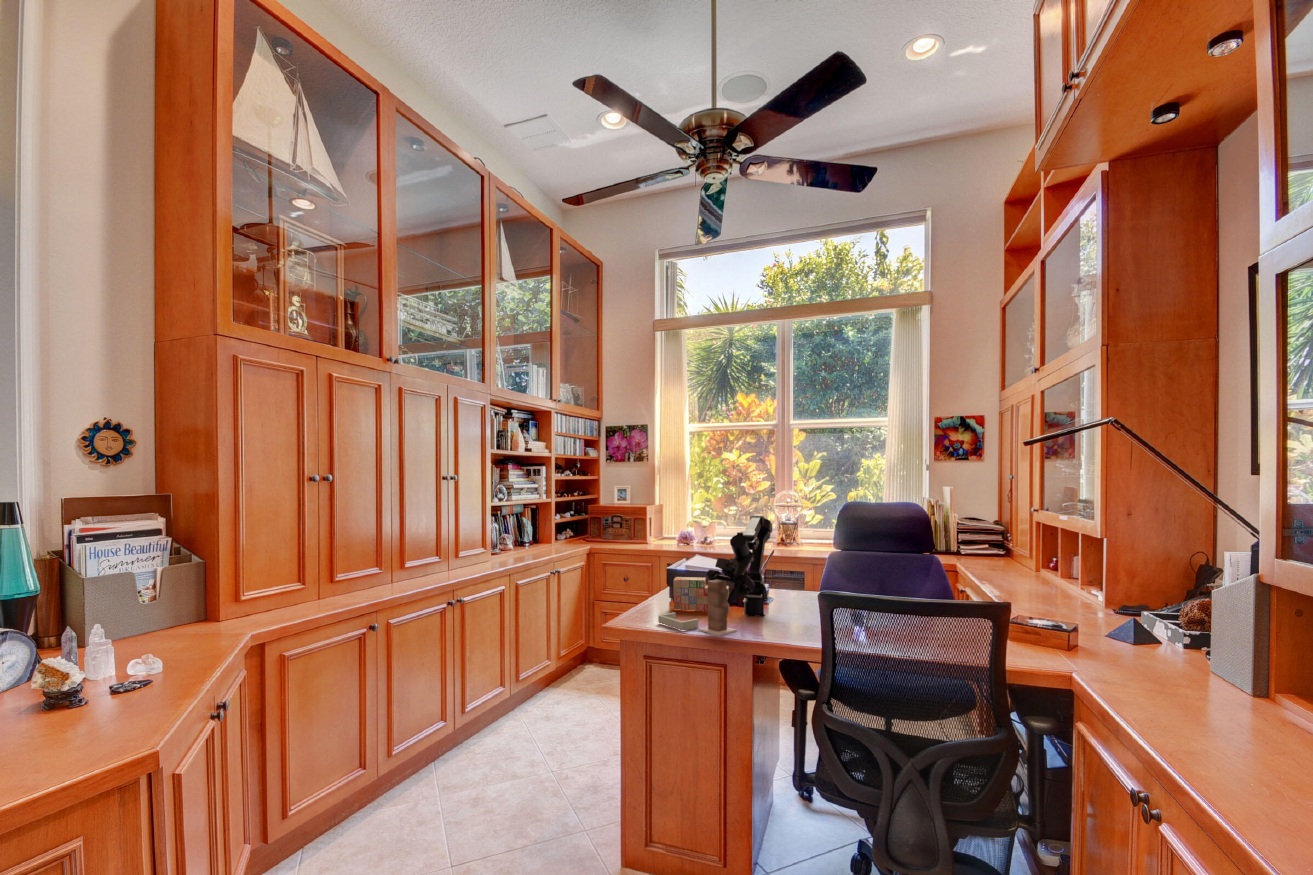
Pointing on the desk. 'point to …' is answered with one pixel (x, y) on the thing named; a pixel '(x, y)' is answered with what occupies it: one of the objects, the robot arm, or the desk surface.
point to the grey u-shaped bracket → (677, 622)
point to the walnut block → (717, 605)
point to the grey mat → (729, 630)
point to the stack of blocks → (692, 594)
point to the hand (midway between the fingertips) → (718, 600)
